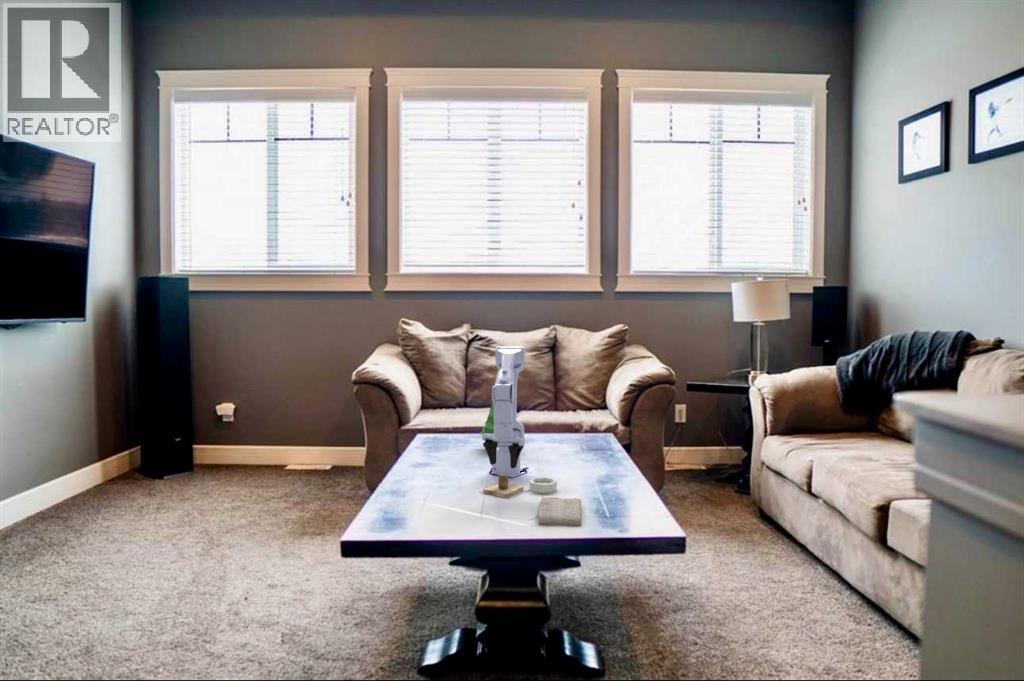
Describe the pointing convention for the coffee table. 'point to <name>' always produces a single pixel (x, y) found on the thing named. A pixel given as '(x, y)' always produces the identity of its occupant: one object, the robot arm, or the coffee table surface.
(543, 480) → the bowl
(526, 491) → the mat
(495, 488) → the lid
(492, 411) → the decorative tree
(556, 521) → the washcloth
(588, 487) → the coffee table surface
